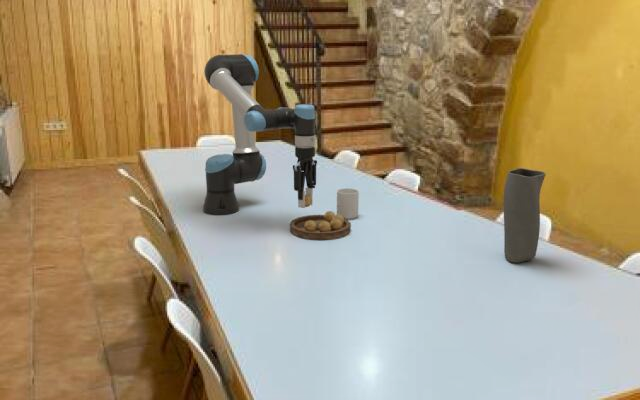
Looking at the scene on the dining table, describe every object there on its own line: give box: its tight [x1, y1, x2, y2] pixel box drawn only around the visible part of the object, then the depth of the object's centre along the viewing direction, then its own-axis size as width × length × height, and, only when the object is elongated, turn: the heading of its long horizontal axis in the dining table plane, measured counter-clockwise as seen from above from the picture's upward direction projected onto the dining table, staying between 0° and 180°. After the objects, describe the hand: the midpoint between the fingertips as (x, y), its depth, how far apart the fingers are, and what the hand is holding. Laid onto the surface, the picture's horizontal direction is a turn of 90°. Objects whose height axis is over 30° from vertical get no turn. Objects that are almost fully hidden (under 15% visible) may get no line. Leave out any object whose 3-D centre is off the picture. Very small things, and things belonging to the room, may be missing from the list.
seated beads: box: [304, 210, 344, 232], centre depth 223 cm, size 12×19×5 cm, turn 148°
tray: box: [289, 214, 352, 241], centre depth 225 cm, size 23×23×3 cm
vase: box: [502, 167, 547, 264], centre depth 193 cm, size 12×12×30 cm
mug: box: [336, 187, 360, 221], centre depth 242 cm, size 12×9×11 cm
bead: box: [305, 194, 313, 208], centre depth 226 cm, size 5×5×5 cm
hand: (305, 205), depth 226 cm, fingers closed on bead, 4 cm apart
